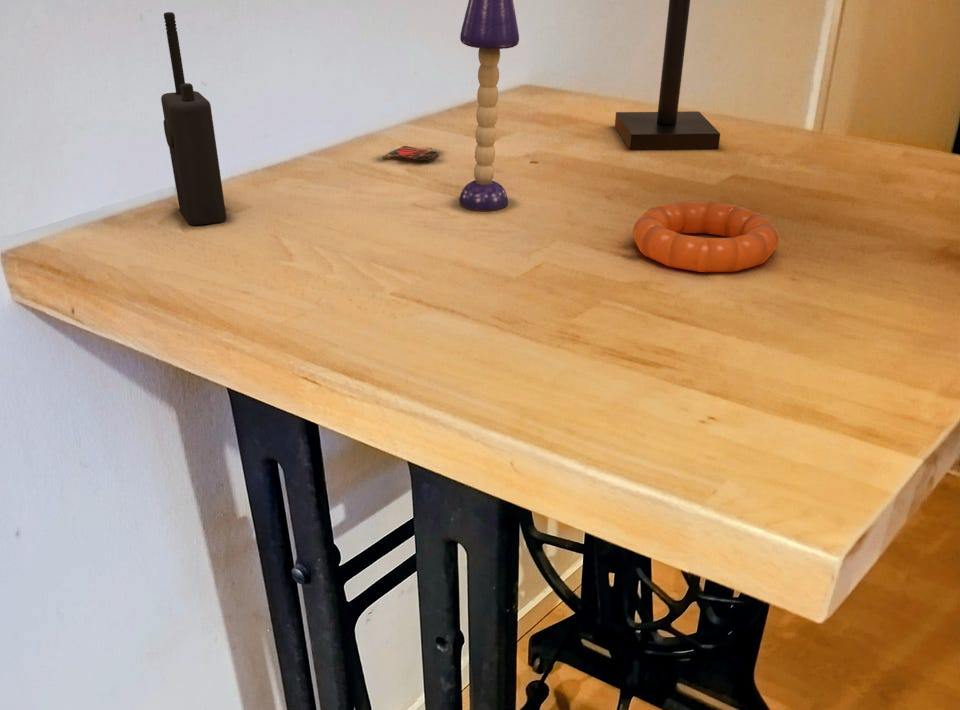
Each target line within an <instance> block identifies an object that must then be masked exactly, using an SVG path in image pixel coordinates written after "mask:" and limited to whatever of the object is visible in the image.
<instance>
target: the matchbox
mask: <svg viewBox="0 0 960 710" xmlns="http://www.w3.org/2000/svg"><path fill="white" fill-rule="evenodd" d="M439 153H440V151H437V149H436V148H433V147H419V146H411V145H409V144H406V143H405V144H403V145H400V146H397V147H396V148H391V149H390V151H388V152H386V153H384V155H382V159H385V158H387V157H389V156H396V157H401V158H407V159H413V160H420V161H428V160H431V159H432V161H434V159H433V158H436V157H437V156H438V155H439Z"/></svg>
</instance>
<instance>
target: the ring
mask: <svg viewBox="0 0 960 710" xmlns="http://www.w3.org/2000/svg"><path fill="white" fill-rule="evenodd" d="M688 234H706V235H707V234H708V235H714V236H720V237H700V236H693V235H688ZM631 235H632V238H633V240H634V242H635V244H636V246H637V248H638V249H639V251H640V253H641V254H642V255H643V256H645V257H647V258H649V259H651V260H654V261H656V262H658V263H659V264H662V265H664V266H665V267H666V266H667V267H670V268H675V269H679V270H680V269H681V270H686V271H692V272H698V273H728V272H729V273H731V272H738V271H742V270H745V269H749V268H752V267H757V266H760V265H762V264H764V263H765V262H766V261H767V260H768V259H769V258H770V256H771V255H772V254H773V253H774V251H775V250H776V249H777V247H778V245H779V241H780V236H779V232H778V230H777V229H776V226H774V225H773V224H772V222H770V220H768V218H767V217H766V216H765V215H763V214H761V213H758V212H756V211H753V210H751V209H747V208H745V207H742V206H739V205H733V204H727V203H720V202H713V201H675V202H671V203H667V204H663V205H659V206H653V207H652V208H650V209H648V210H647V211H646V212H644V213H643V214H642V215H641V216H639V218H638V219H636V221H634V224H633V226H632V231H631Z"/></svg>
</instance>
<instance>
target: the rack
mask: <svg viewBox="0 0 960 710" xmlns="http://www.w3.org/2000/svg"><path fill="white" fill-rule="evenodd" d="M690 7H691V0H669V1H668V9H667V19H666V27H665V36H664V37H665V39H664V47H663V49H664V50H663V58H662V68H661V78H660V88H659V95H658V96H659V97H658V106H657V111H616V112H615V120H614V128H615V130H616V131H617V132H618V134H619V135H620V137H621V138H622V140H623V142H624V143H625V145H626V146H627V148H628V149H629V150H630V151H641V150H642V151H643V150H646V151H648V150H649V151H651V150H653V151H655V150H656V151H657V150H658V151H659V150H718V149H719V147H720V138H721V132H720V131H719V130H718V129H717V128H716V127H715V126H714V125H713V124H712V123H711V122H710V121H709V120H708V119H707V118H706V117H705V116H704V115H703V114H702V113H701V112H700V111H699V110H698V111H679V105H680V104H679V103H680V95H681V86H682V78H683V68H684V60H685V50H686V42H687V33H688V32H687V31H688V25H689V24H688V23H689V15H690Z"/></svg>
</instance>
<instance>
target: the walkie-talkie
mask: <svg viewBox="0 0 960 710" xmlns="http://www.w3.org/2000/svg"><path fill="white" fill-rule="evenodd" d="M163 19H164V24H165V30H166V31H165V32H166V38H167V44H168V51H169V56H170V63H171V69H172V76H173V83H174V89H175V92H167V93H166V92H165V93H162V95H161V98H160V101H161V106H162V113H163V118H164V119H163V130H164V135H165V136H164V137H165V141H166V143H167V146H168V149H169V154H170V155H169V156H170V161H171V166H172V172H173V173H172V174H173V178H174V184H175V191H176V196H177V202H178V207H179V212H180V214H181V215H182V216H183V218H184V219H185V220H186V221H187V223H188V224H190V225H191V226H202V225H211V224H217V223H223V222H224V221H226V220H227V210H226V206H225V198H224V190H223V183H222V177H221V170H220V169H221V168H220V162H219V156H218V149H217V142H216V140H217V139H216V133H215V126H214V120H213V112H212V105H211V102H210V101H209V100H208V99H207V98H205V96H204V95H202V94H201V92H199V91H196V90H194V86H193V84H192V83H187V82H186V80H185V79H186V78H185V73H184V68H183V60H182V53H181V47H180V40H179V35H178V28H177V22H176V16H175V12H172V11H167V12H164V13H163Z"/></svg>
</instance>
